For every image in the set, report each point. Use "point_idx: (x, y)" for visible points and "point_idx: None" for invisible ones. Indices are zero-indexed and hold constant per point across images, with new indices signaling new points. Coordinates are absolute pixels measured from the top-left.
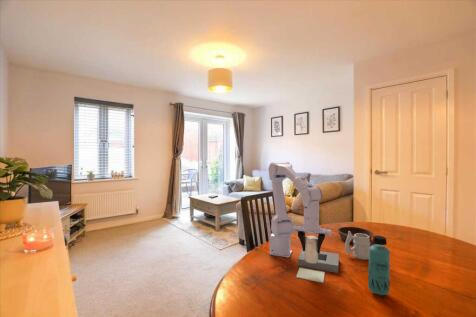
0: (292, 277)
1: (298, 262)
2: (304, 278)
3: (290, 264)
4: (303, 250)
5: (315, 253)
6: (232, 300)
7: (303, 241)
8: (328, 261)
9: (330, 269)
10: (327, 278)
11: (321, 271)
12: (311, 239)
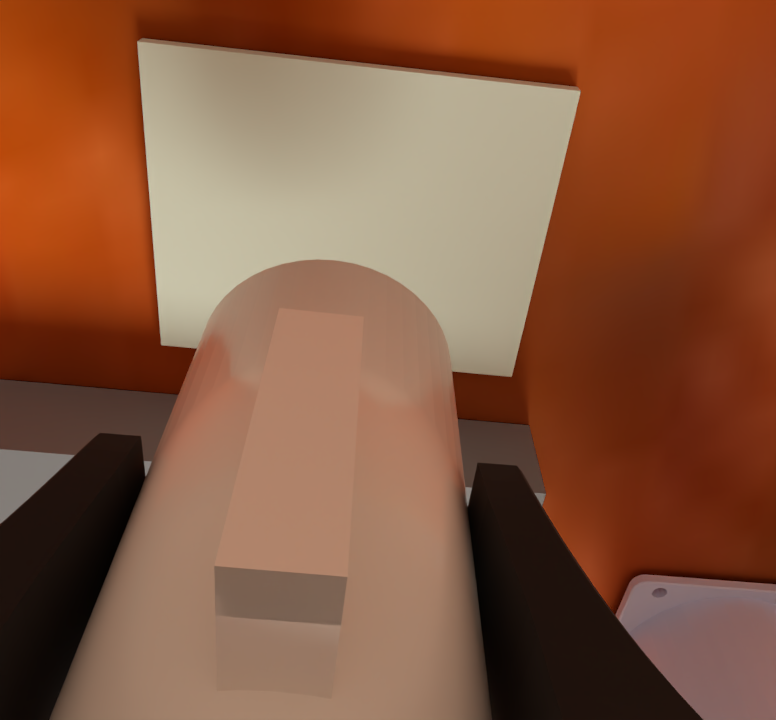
0: (639, 76)
1: (529, 456)
2: (444, 76)
3: (629, 436)
4: (508, 472)
5: (191, 410)
6: None
7: (567, 694)
8: None
9: (88, 407)
10: (106, 203)
11: None
12: None
